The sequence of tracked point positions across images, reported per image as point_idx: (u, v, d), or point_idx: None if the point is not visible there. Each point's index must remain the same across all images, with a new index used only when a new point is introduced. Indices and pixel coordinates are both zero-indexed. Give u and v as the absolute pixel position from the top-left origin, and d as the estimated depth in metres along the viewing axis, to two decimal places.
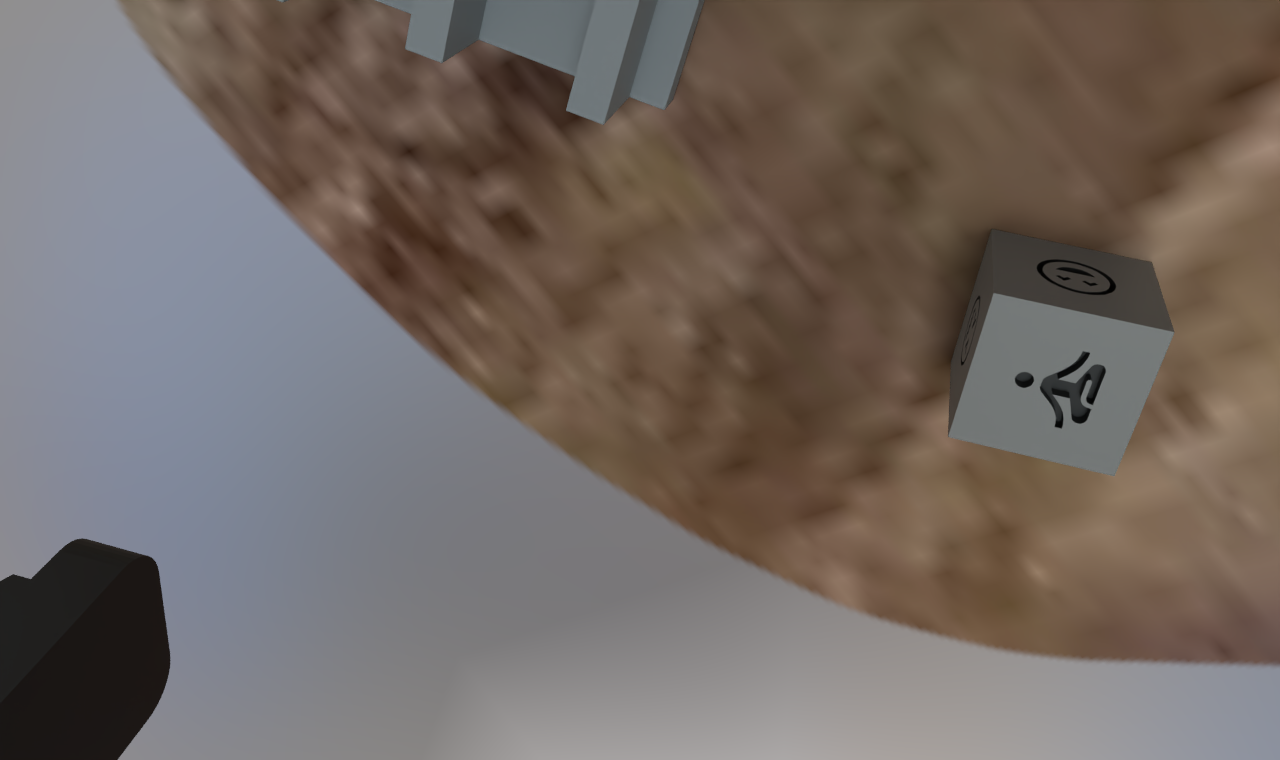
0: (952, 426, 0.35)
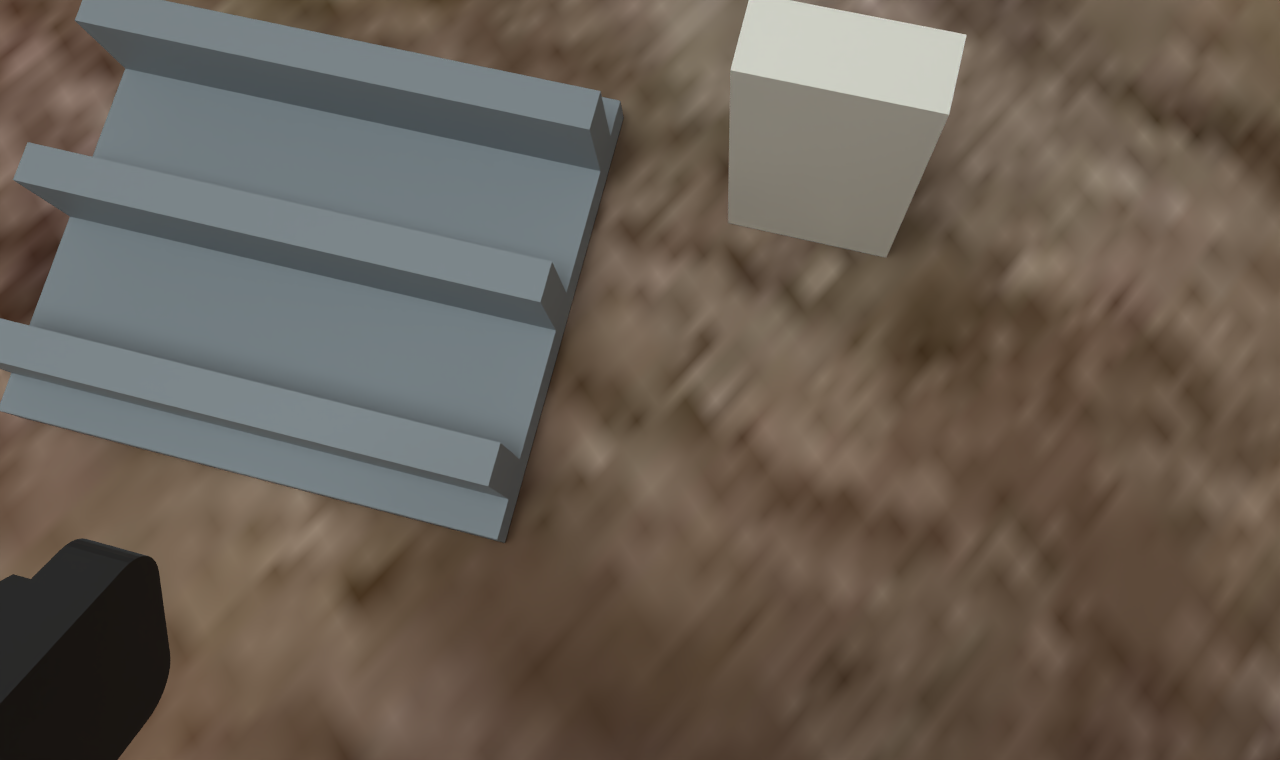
0: None
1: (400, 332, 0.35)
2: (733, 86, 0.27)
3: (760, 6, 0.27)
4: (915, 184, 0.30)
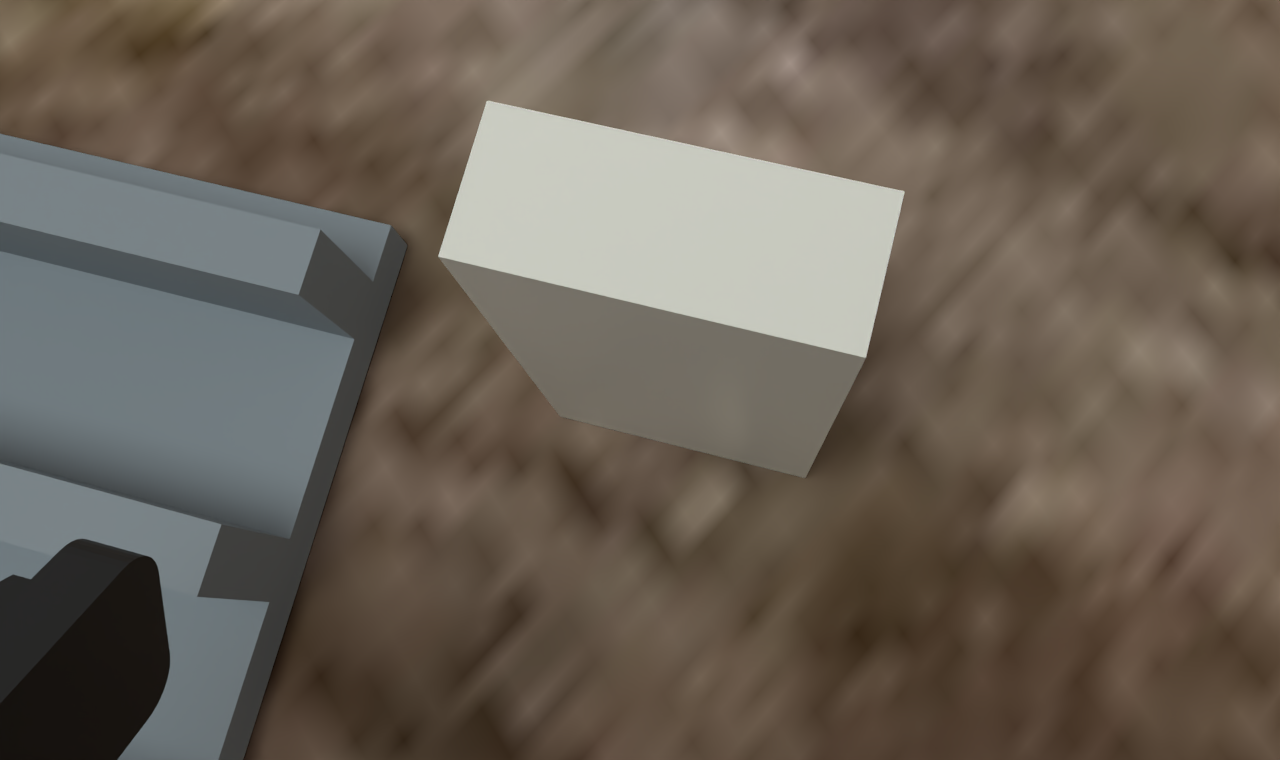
0: None
1: None
2: (459, 278, 0.14)
3: (504, 127, 0.14)
4: (827, 423, 0.17)
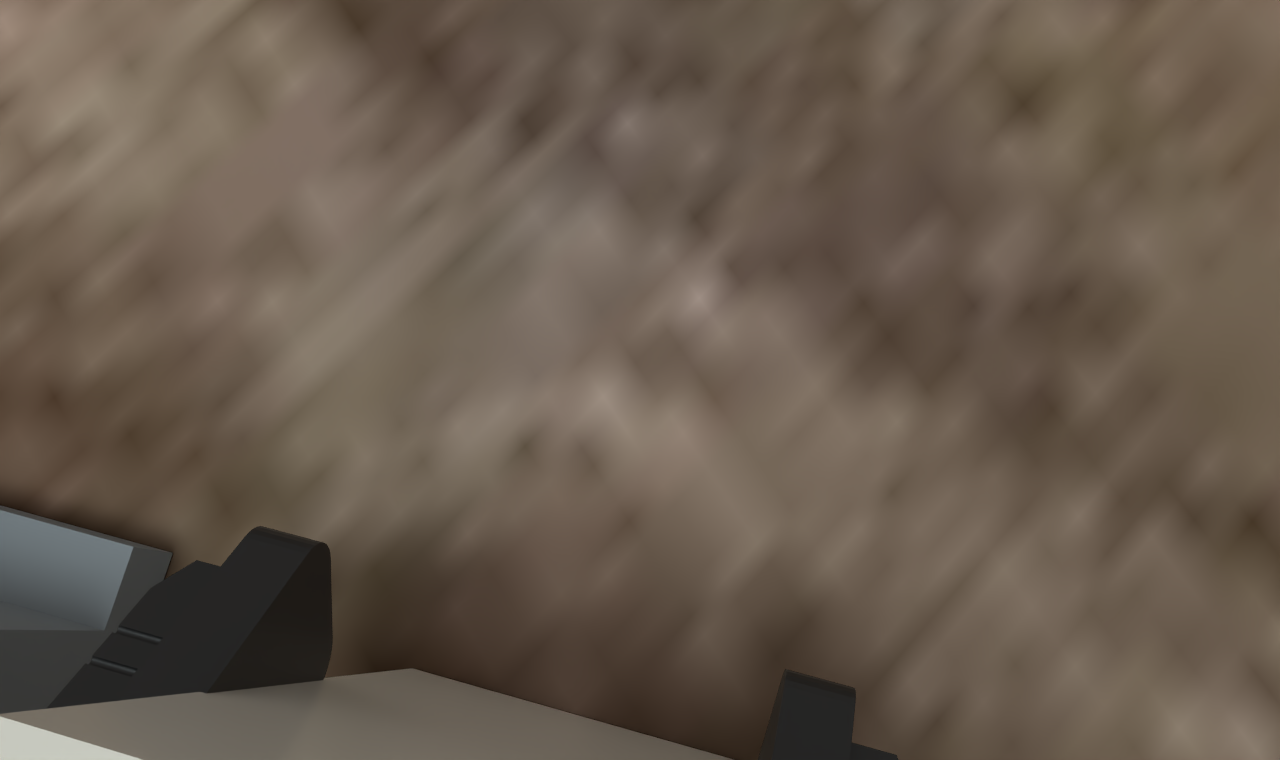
0: None
1: None
2: None
3: None
4: None
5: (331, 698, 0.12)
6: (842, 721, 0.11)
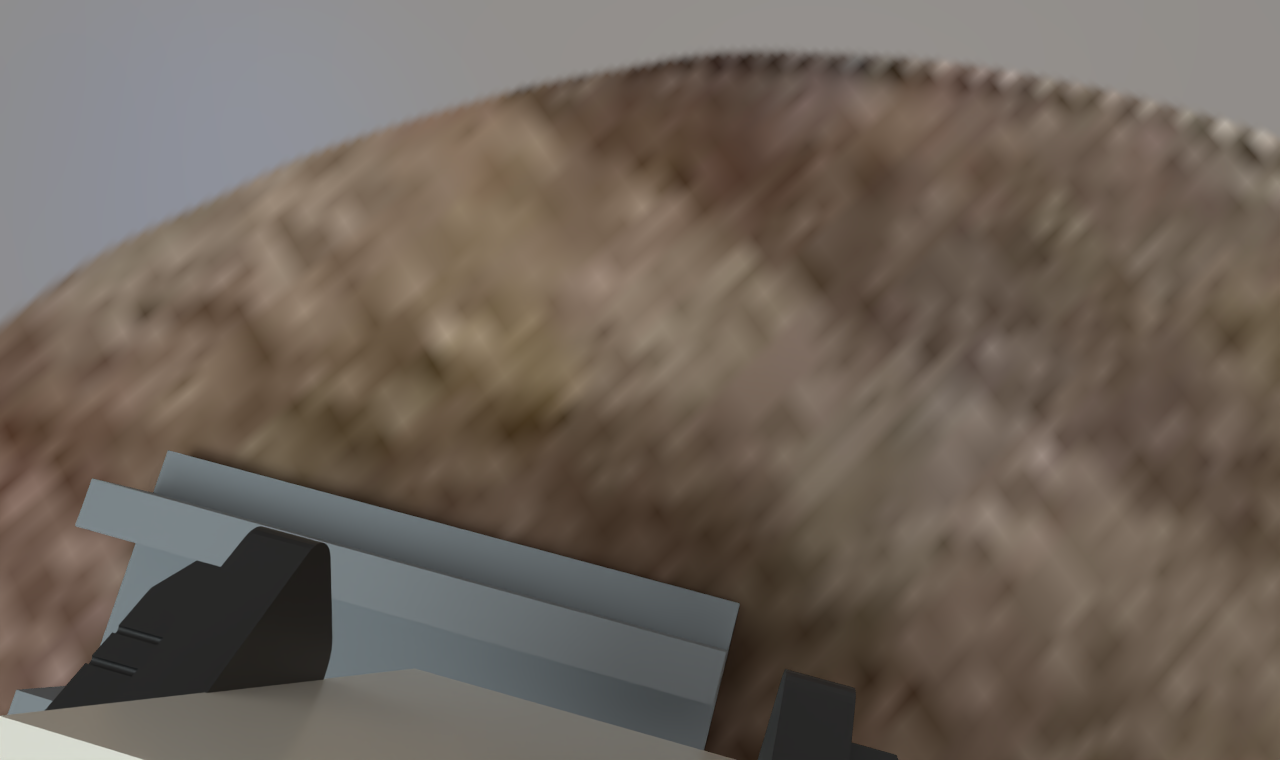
0: None
1: None
2: None
3: None
4: None
5: (335, 699, 0.12)
6: (842, 721, 0.11)
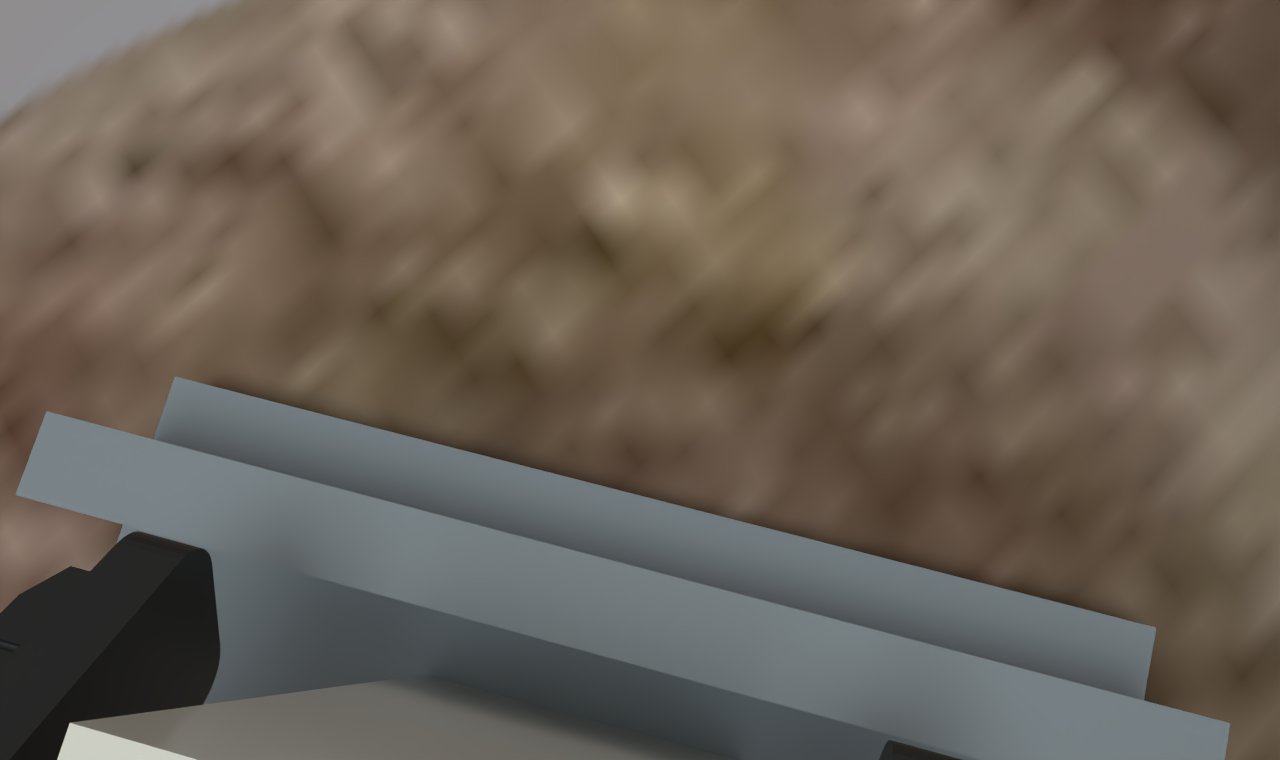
0: None
1: None
2: None
3: None
4: None
5: (355, 704, 0.13)
6: None
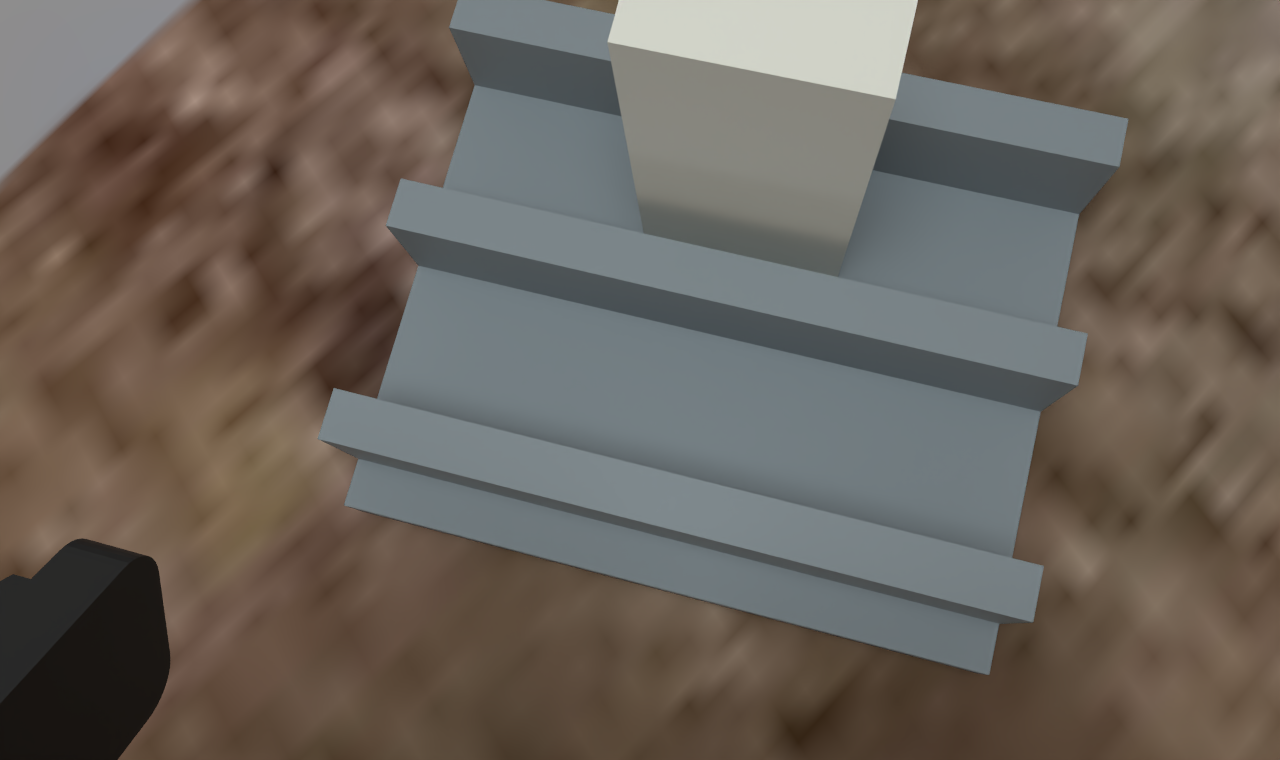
0: None
1: (843, 412, 0.28)
2: (615, 64, 0.21)
3: None
4: (862, 191, 0.23)
5: None
6: None
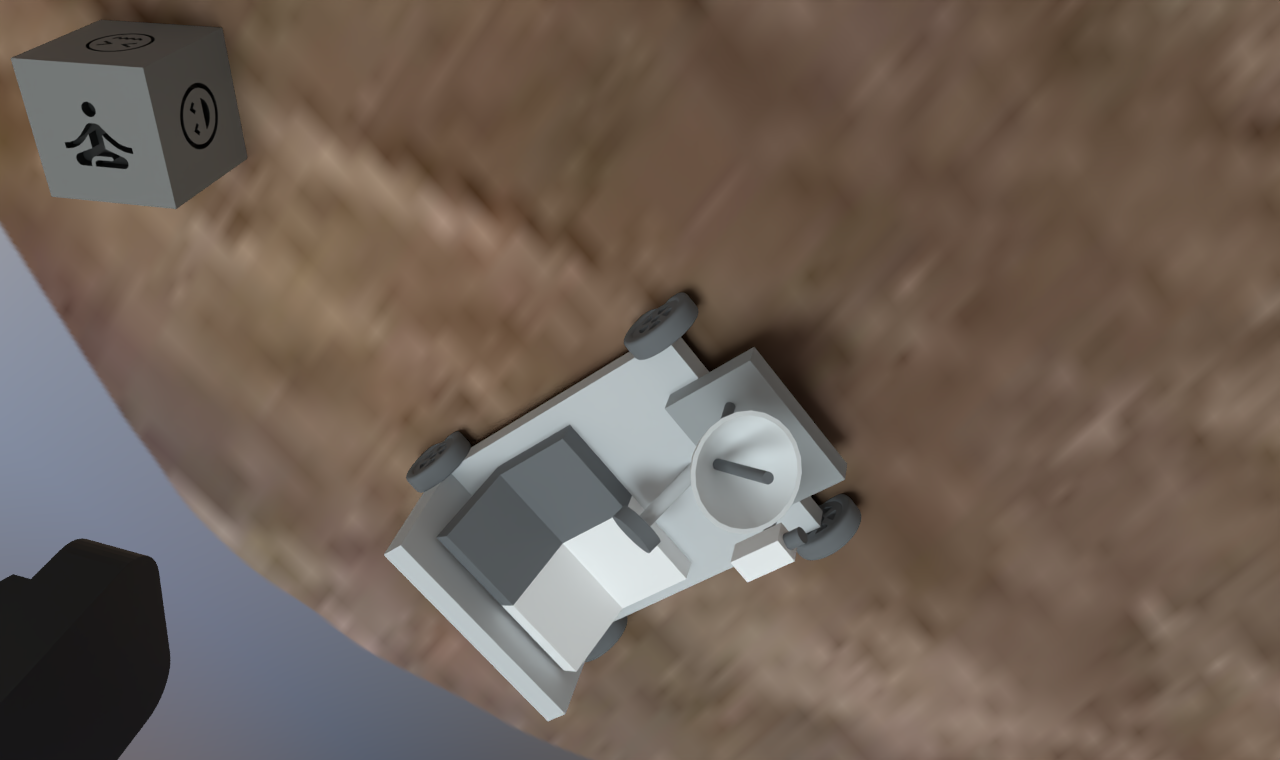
0: (21, 59, 0.39)
1: None
2: None
3: None
4: None
5: None
6: None
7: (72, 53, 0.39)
